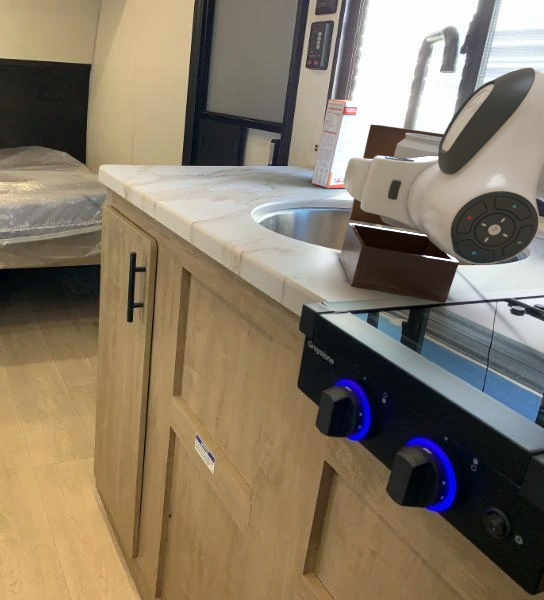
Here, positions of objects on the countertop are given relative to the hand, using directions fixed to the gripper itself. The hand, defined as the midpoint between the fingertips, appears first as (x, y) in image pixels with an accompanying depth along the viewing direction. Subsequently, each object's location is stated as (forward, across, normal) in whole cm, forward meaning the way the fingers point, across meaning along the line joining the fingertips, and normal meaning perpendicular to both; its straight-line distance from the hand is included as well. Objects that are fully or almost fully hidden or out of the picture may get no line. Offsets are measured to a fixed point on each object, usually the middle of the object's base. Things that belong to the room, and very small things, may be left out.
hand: (416, 176), depth 81 cm
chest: (-1, 0, +14) cm, 14 cm away
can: (-1, 0, +7) cm, 7 cm away
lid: (+7, 0, +1) cm, 7 cm away
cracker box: (+74, -1, +14) cm, 76 cm away
